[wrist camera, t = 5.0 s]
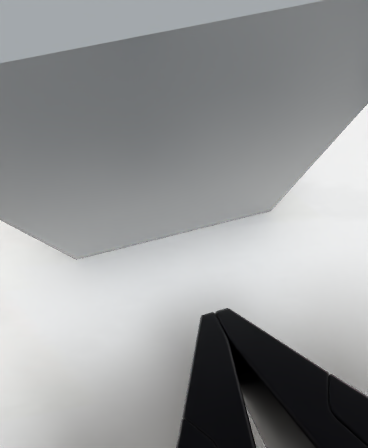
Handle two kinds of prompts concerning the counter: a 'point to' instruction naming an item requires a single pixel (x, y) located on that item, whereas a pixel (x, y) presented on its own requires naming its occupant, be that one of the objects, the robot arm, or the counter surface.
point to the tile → (167, 111)
